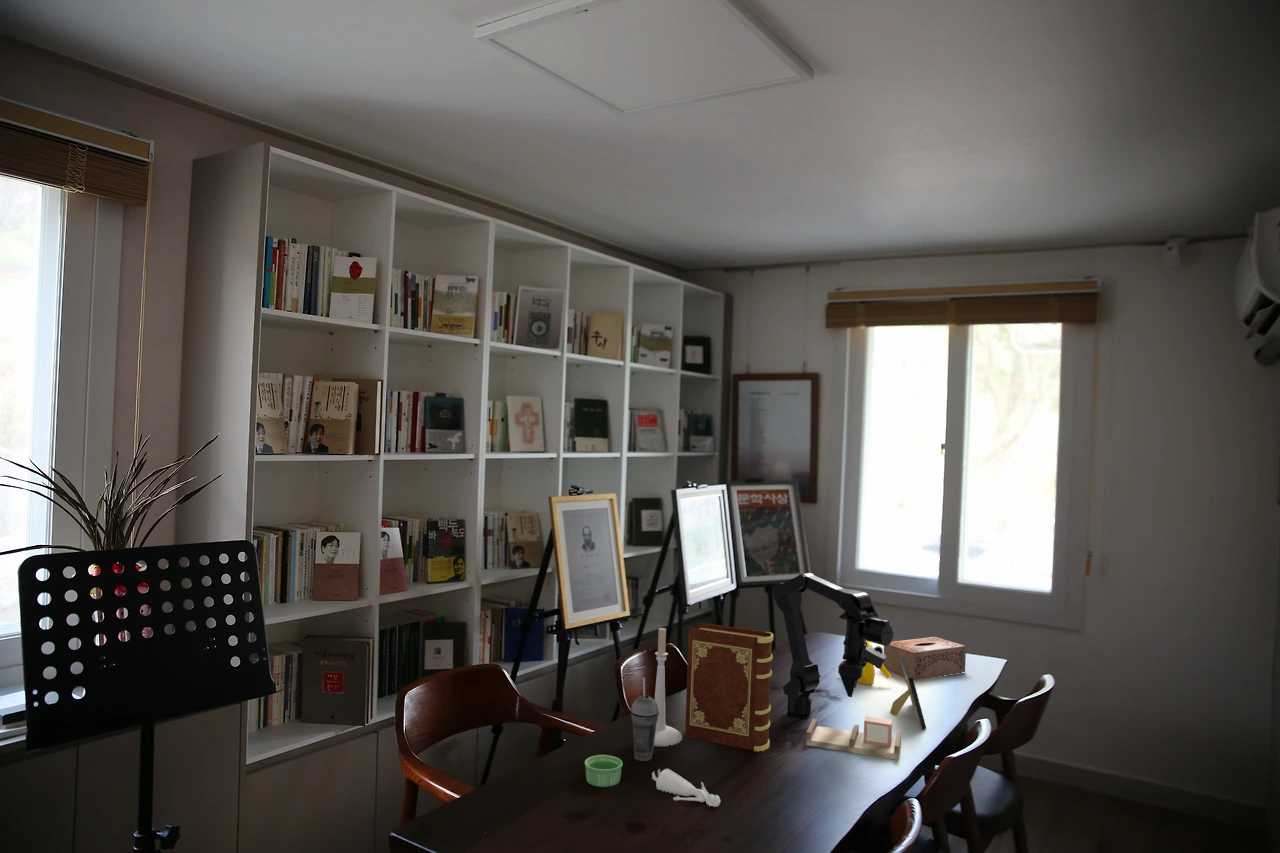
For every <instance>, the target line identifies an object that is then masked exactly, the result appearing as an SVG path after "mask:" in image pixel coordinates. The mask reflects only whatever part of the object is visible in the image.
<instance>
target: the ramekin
mask: <svg viewBox="0 0 1280 853" xmlns="http://www.w3.org/2000/svg"><path fill="white" fill-rule="evenodd" d="M623 764H624V763H623V761H622V760H621V759H620V758H619V757H616V756H613V755H608V754H597V755H592V756H589V757H588V758H586V759H585V760H584V767H585V778H586V782H587V784H590V785H591V786H594V787H600V788H609V786H610V787H613V786H615V785H618V784H619V783H620V780H621V776H622V769H623V768H622V767H623Z"/></svg>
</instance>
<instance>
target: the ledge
mask: <svg viewBox="0 0 1280 853" xmlns="http://www.w3.org/2000/svg"><path fill="white" fill-rule="evenodd" d="M859 727H860V725H859V724H854V725H853V727H852V730H846V729H845V730H844V729H839V728H832V727H827V726H826V727H825V726H818V718H812V720H811V722H810V724H809V726H808V728H807V730H806V738H805V745H806V746H810V747H816V748H821V749H826V750H827V749H828V750H834V751H841V752H845V753H846V752H847V753H853V754H859V755H866V756H872V757H878V758H884V759H891V760H897V761H900V757H901V756H900V755H901V748H902V735H903V734H902V733H903V732H902V731H899V730H897V731H896V736H895V737H892V741H891V747H885V746H879V745H872V744H866V743H863V742H864V732H860V731H859V729H860V728H859Z"/></svg>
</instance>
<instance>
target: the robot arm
mask: <svg viewBox="0 0 1280 853" xmlns="http://www.w3.org/2000/svg"><path fill="white" fill-rule="evenodd" d="M807 590H809V591H811V592H813V593H816V594H817V595H820V596H822V597H824V598H826V599H829V600H830V601H833V602H834V603H836V605H837V606H838V607H839V608H840V609H841V610H843V611H844V612H843V613H841V614H840V615H839V616H838V618H840V619H842V620H844V621H845V631H844V640H843V645H844V646H843V655H842V661H841V662H840V663H839V664H838V671H837V673H838V674H839V677H840V679H841V681H842V684H843V687H844V689H845V692H846V695H847V697H848V698H853V694H854V690H855V689H856V688H857V685H858V682H857V681H858V679H860V678H861V677H862V672H863V667H864V666H866V664H867V662H868V663H870V664H872V665H873V666H874V668H876V669H879V670H880V669H881V667H882V665H883V663H884V660H885V658H886V655H885V654H883V652H884V646H888V645H889V644H890V643H891V642H893V638H894V631H893V627H892V626H891V625H890V620H887V619H882V618H879V615H878V612H877V611H876V609H875V607H874V605H873V603H872V599H871V597H870V595H869V594H868V593H867V592H866V591H861V590H856V589H848V588H843V587H841V586H839V585H837V584H835V583H832V582H831V581H828V580H826V579H823V578H821V577H820V576H819V577H818V576H816V575H814V573H812V572H807V573H806V572H805V573H804V572H803V573H800V574H798V575H797V576H795V577H793V578H791V579H789V580H787V581H784V582H779V583H776V584H775V586H774V587H773V589H772V595H773V598H774V601H775V605H776V607H778V609H779V610H780V611H781V612H782V614H783V620H784V624H785V630H786V635H787V640H788V645H789V649H790V650H789V651H790V655H791V659H792V662H791V667H790V671H789V679H790V680H789V681H788V682H786V683H785V684H784V685H783V686H782V689H783V694H784V695H785V696H787V706H786V709H787V711H786V713H785V716H787V717H792V718H800V719H806V720H807V719H809V717H810V716H811V715H812V713H813V699H812V698H811V694H815V691H816V689H817V688H818V686H819V684H820V683H821V682H820V678H822V677H821V674H820V672H819V665H818V664H817V663H814V664H813V662H812V660H811V659H810V656H809V652H808V648H807V643H806V637H805V633H804V629H803V623H802V617H801V613H800V609H801V608H800V607H801V604H802V600H803V599H802V594H803V593H805V592H806V591H807ZM863 613H864V614H863ZM866 640H867V641H869V642H870V643H872V644H876V645H877V644H878V645H877V646H875V647H873V648H870V647H868V646H867V642H866ZM881 646H883V647H881Z"/></svg>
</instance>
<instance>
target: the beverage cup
mask: <svg viewBox="0 0 1280 853" xmlns="http://www.w3.org/2000/svg"><path fill="white" fill-rule="evenodd" d="M630 714H631V722H632V734H633V735H632V736H633V737H632V738H633V739H632V740H633V753H634V759H635V760H637V761H641V762H647V761H651V760H652V759H653V754H654V748H655V746H654V740H655V731H656V723H657V720H658V714H659V711H658V705H657V703H656V701H655V698H653V697H652V696H650V695H646V679H645V677H642V695H640V696H639V697H637V698H636V699H635V700H634V701H633V702H632V705H631V709H630ZM650 759H651V760H650Z"/></svg>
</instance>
